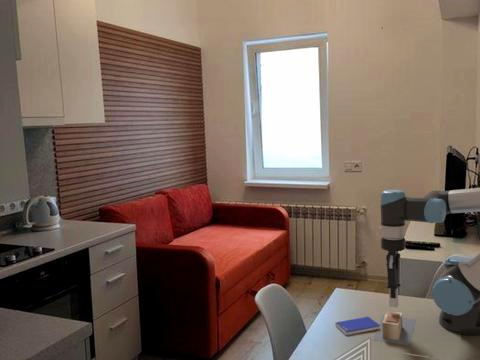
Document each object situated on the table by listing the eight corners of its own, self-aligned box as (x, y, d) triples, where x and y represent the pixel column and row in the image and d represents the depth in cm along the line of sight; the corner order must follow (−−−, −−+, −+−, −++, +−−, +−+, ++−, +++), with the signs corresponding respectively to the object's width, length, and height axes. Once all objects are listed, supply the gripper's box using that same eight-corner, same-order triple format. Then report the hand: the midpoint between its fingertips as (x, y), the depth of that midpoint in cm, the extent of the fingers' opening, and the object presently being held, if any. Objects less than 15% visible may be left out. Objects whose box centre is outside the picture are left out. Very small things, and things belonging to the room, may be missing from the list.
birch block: (402, 312, 157) (398, 324, 148) (402, 327, 158) (398, 340, 149) (386, 310, 160) (382, 322, 151) (387, 325, 160) (382, 337, 151)
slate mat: (415, 320, 163) (415, 319, 163) (409, 346, 145) (409, 345, 145) (382, 316, 168) (382, 315, 168) (373, 341, 150) (373, 339, 150)
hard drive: (346, 331, 154) (380, 324, 157) (335, 321, 162) (367, 315, 165) (346, 335, 154) (380, 329, 157) (335, 326, 162) (367, 320, 165)
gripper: (384, 231, 162) (385, 298, 164) (377, 241, 150) (378, 312, 153) (407, 233, 158) (407, 300, 161) (402, 242, 147) (403, 315, 150)
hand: (393, 306), depth 157 cm, fingers closed
